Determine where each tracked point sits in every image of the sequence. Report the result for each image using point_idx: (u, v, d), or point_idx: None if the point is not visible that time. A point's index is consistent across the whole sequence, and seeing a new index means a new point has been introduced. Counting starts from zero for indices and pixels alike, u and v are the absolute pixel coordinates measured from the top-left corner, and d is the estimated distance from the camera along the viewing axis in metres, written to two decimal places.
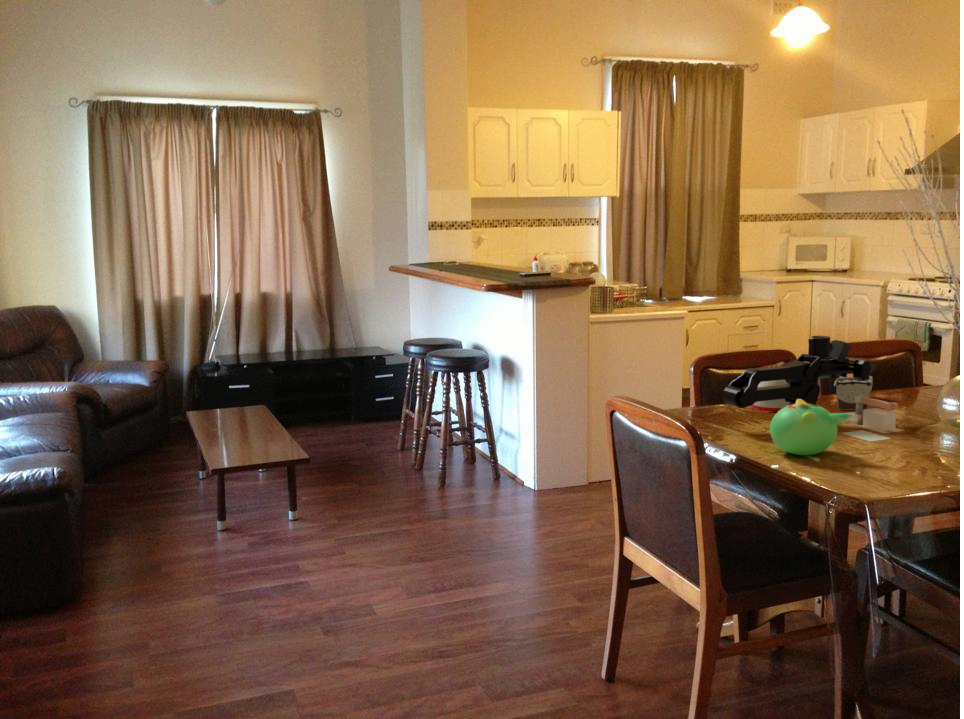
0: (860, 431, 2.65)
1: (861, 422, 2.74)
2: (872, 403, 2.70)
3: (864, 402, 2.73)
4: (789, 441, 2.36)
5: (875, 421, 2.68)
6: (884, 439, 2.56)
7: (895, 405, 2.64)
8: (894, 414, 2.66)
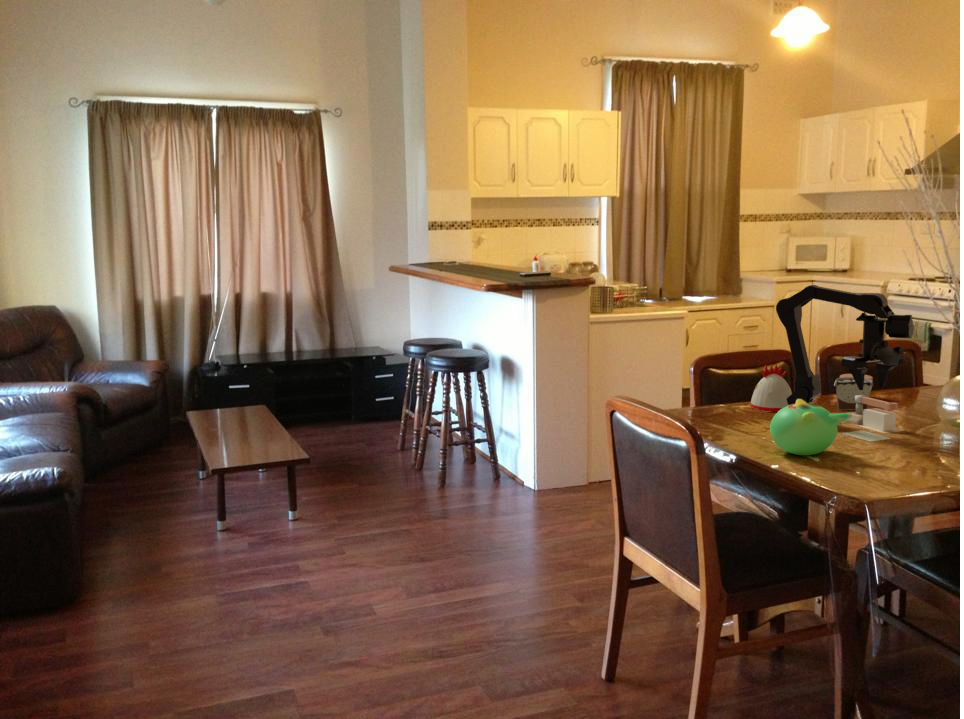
0: (860, 431, 2.65)
1: (861, 422, 2.74)
2: (872, 403, 2.70)
3: (864, 402, 2.73)
4: (789, 441, 2.36)
5: (875, 421, 2.68)
6: (884, 439, 2.56)
7: (895, 405, 2.64)
8: (894, 414, 2.66)
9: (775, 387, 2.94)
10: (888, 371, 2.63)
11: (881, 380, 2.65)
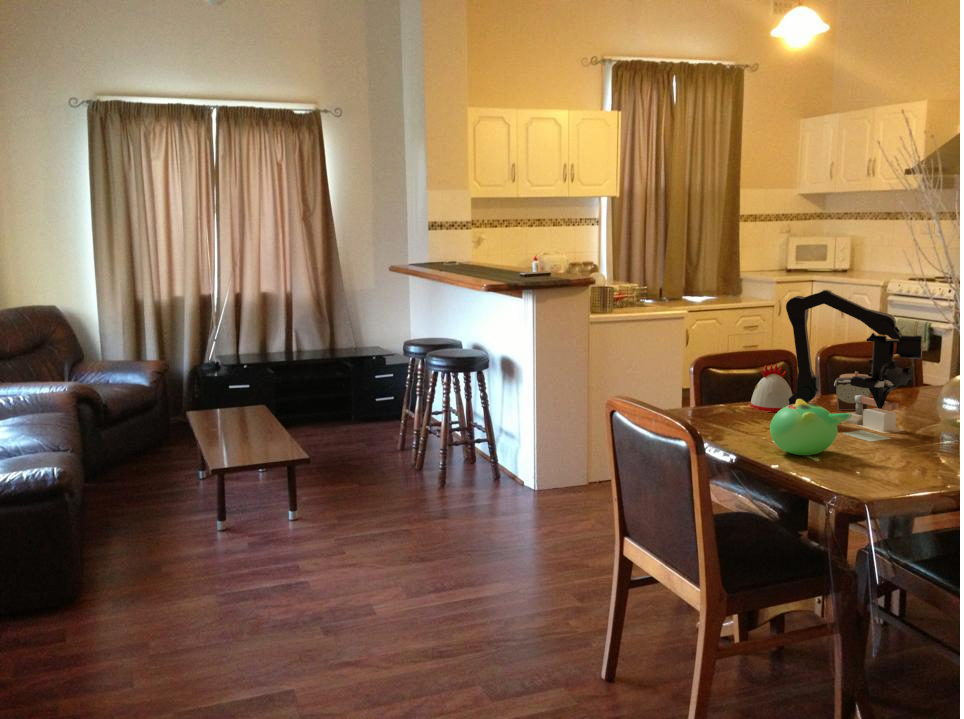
0: (860, 431, 2.65)
1: (861, 422, 2.74)
2: (872, 403, 2.70)
3: (864, 402, 2.73)
4: (789, 441, 2.36)
5: (875, 421, 2.68)
6: (884, 439, 2.56)
7: (895, 405, 2.64)
8: (894, 414, 2.66)
9: (775, 387, 2.94)
10: (887, 392, 2.65)
11: None
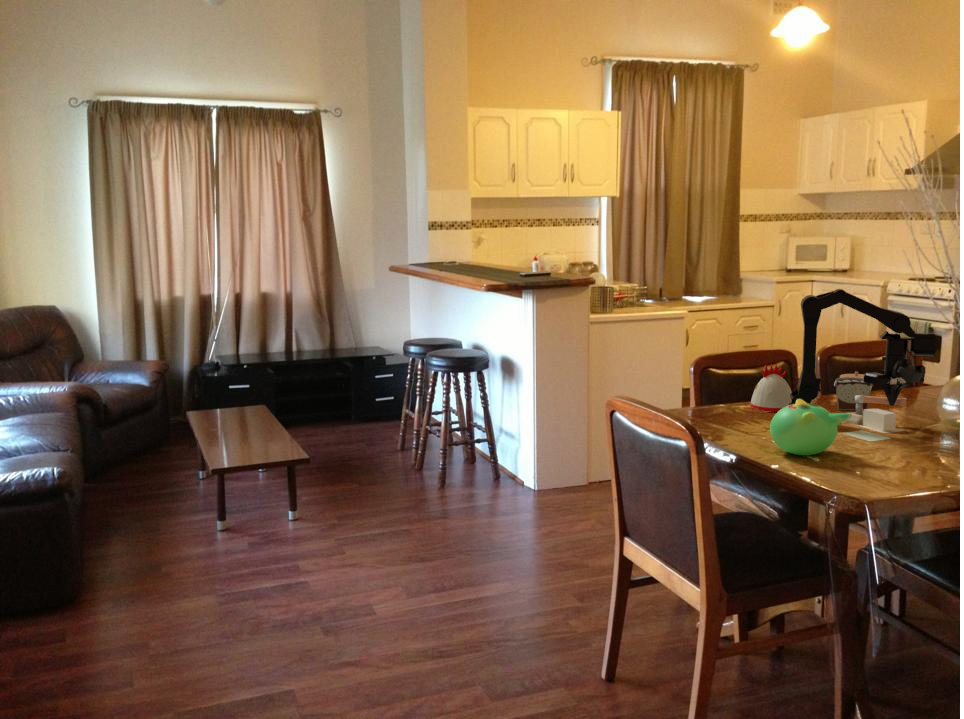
0: (860, 431, 2.65)
1: (861, 422, 2.74)
2: (880, 401, 2.73)
3: (869, 401, 2.74)
4: (789, 441, 2.36)
5: (875, 421, 2.68)
6: (884, 439, 2.56)
7: None
8: (894, 414, 2.66)
9: (775, 387, 2.94)
10: (899, 389, 2.68)
11: None
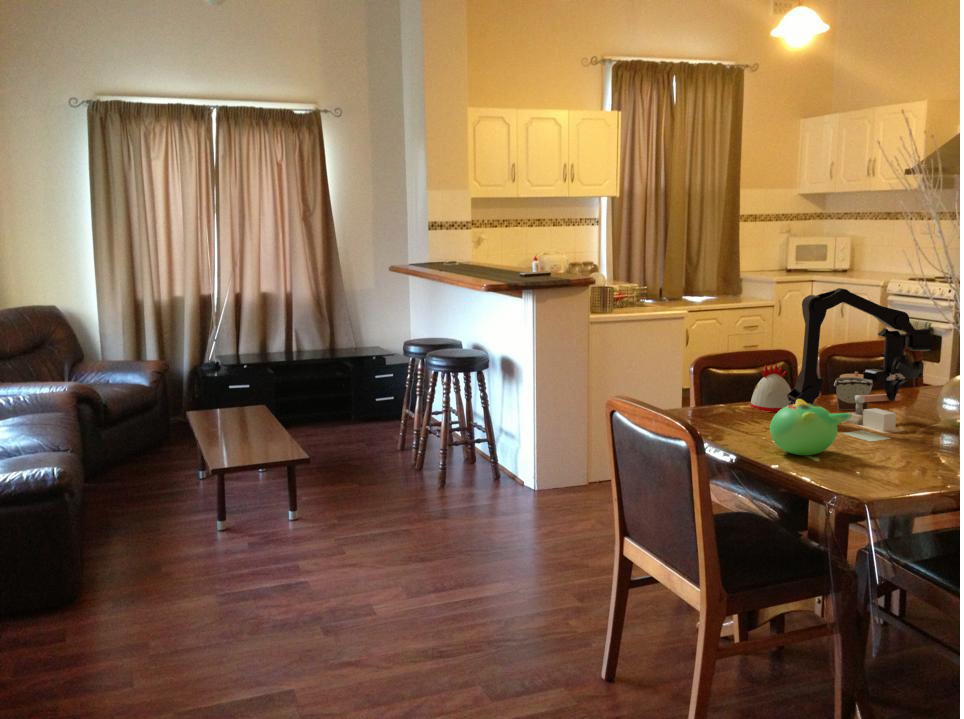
0: (860, 431, 2.65)
1: (861, 422, 2.74)
2: (877, 399, 2.76)
3: (869, 400, 2.76)
4: (789, 441, 2.36)
5: (875, 421, 2.68)
6: (884, 439, 2.56)
7: None
8: (894, 414, 2.66)
9: (775, 387, 2.94)
10: (899, 385, 2.74)
11: None
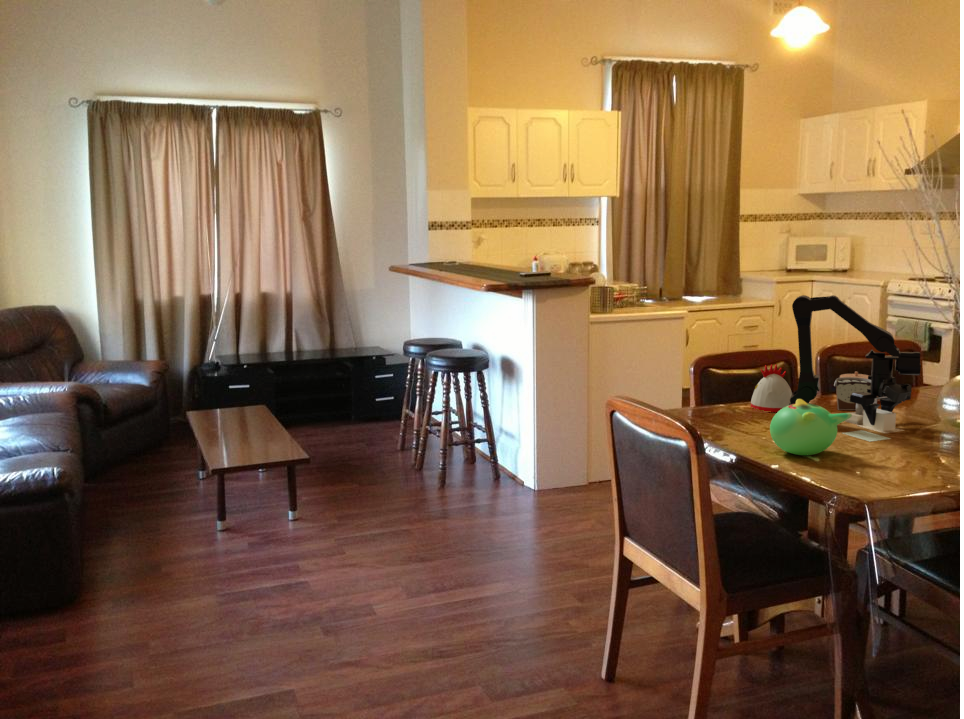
0: (860, 431, 2.65)
1: (861, 422, 2.74)
2: None
3: None
4: (789, 441, 2.36)
5: (875, 421, 2.68)
6: (884, 439, 2.56)
7: None
8: (894, 414, 2.66)
9: (775, 387, 2.94)
10: (892, 407, 2.69)
11: None
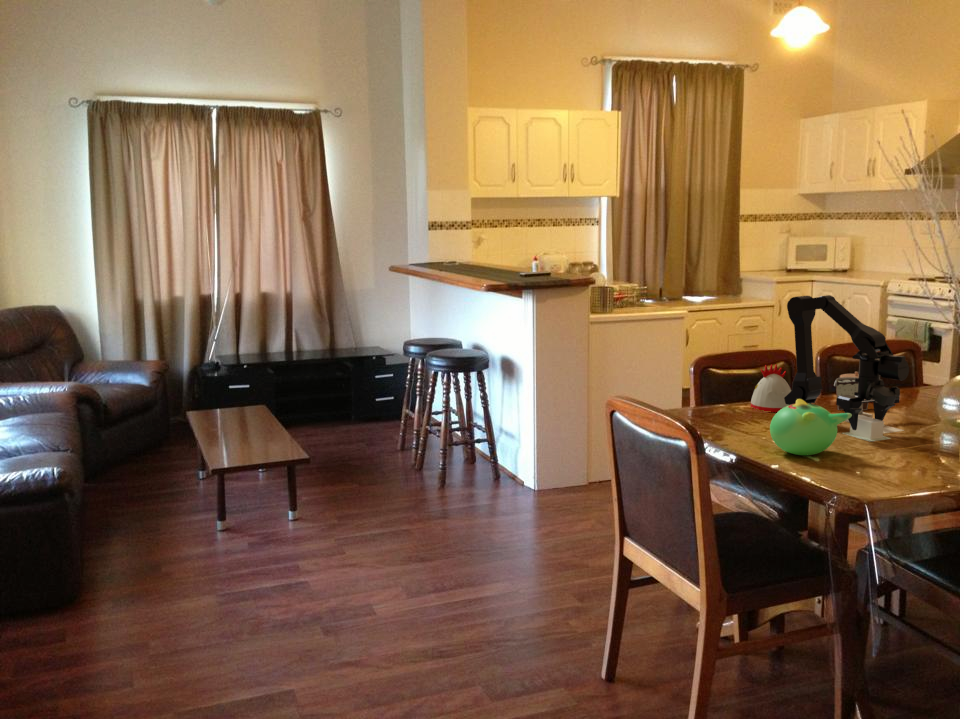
0: None
1: None
2: None
3: None
4: (789, 441, 2.36)
5: (862, 429, 2.58)
6: (884, 439, 2.56)
7: None
8: (882, 422, 2.56)
9: (775, 387, 2.94)
10: (885, 410, 2.60)
11: (878, 419, 2.61)
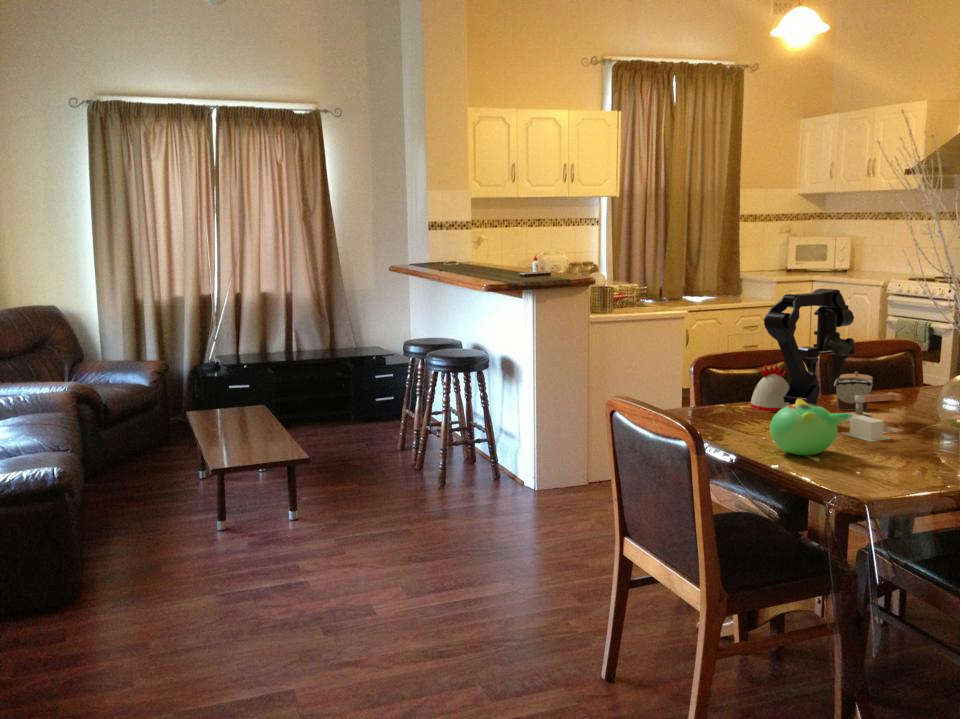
0: None
1: None
2: (877, 399, 2.76)
3: (869, 400, 2.76)
4: (789, 441, 2.36)
5: (862, 429, 2.58)
6: (884, 439, 2.56)
7: None
8: (882, 422, 2.56)
9: (775, 387, 2.94)
10: (842, 361, 2.83)
11: (835, 369, 2.85)
